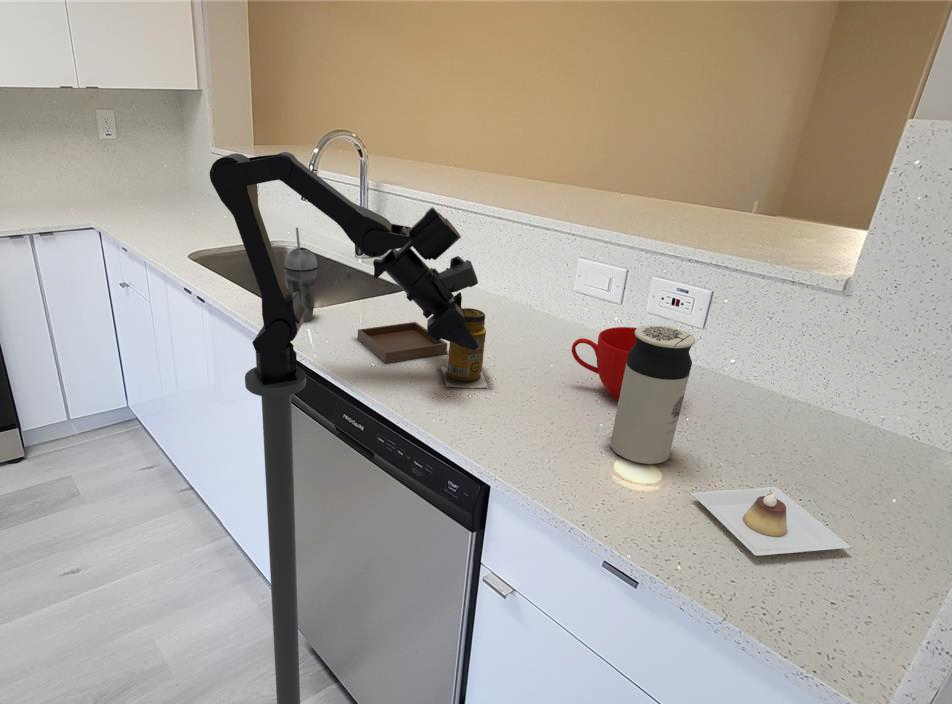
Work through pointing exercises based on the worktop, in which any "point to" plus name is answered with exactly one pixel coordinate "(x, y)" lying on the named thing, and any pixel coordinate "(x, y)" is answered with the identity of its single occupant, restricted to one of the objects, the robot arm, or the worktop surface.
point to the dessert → (769, 521)
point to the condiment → (467, 355)
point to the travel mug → (652, 394)
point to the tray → (400, 342)
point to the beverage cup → (302, 276)
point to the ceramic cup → (610, 356)
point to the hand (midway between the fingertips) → (475, 341)
